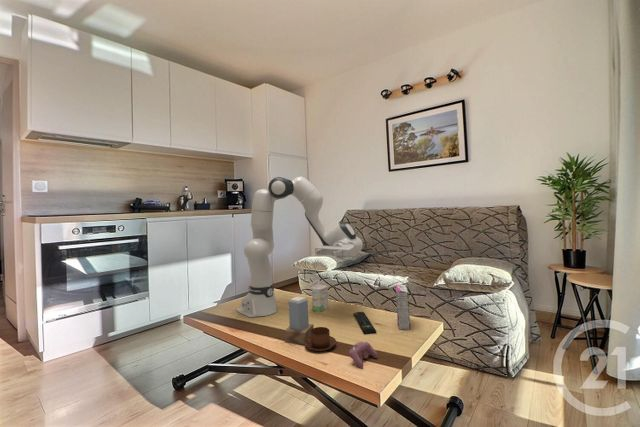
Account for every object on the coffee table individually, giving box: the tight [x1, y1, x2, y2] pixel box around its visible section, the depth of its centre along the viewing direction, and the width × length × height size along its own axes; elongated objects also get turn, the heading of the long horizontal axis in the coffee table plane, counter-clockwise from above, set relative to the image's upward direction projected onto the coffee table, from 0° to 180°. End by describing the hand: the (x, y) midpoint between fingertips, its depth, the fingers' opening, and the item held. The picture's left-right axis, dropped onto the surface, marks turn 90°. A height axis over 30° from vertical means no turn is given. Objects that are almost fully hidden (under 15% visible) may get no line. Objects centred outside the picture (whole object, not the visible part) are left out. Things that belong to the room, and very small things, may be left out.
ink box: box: [311, 279, 329, 313], centre depth 160 cm, size 9×5×15 cm, turn 149°
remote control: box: [352, 311, 377, 335], centre depth 139 cm, size 5×24×1 cm, turn 4°
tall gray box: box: [288, 296, 310, 331], centre depth 126 cm, size 6×6×12 cm
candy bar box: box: [395, 284, 411, 330], centre depth 135 cm, size 11×5×16 cm, turn 168°
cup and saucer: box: [304, 326, 337, 352], centre depth 118 cm, size 12×12×6 cm
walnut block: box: [284, 323, 315, 346], centre depth 126 cm, size 9×9×5 cm
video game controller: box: [349, 341, 379, 369], centre depth 106 cm, size 10×5×7 cm, turn 135°
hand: (324, 253), depth 140 cm, fingers open, 8 cm apart
